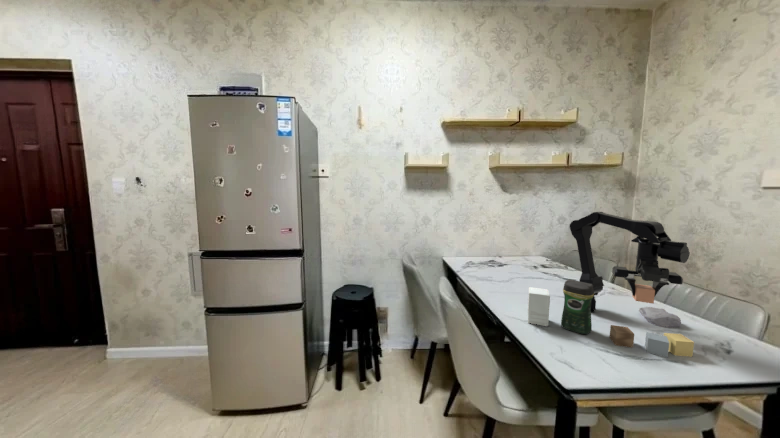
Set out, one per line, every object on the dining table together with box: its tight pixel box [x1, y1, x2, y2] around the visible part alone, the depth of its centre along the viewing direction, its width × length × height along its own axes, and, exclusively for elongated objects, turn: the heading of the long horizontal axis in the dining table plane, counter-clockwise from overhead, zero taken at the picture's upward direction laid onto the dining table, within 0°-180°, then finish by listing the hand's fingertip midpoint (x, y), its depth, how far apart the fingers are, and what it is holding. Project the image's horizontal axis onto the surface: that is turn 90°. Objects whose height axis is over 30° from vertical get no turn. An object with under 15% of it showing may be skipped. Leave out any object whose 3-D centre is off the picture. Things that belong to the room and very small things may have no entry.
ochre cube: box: [663, 332, 695, 358], centre depth 94 cm, size 5×5×5 cm
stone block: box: [638, 306, 682, 328], centre depth 116 cm, size 12×5×10 cm
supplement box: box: [526, 286, 551, 327], centre depth 115 cm, size 7×7×13 cm
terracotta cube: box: [631, 283, 656, 304], centre depth 107 cm, size 5×5×5 cm
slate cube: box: [644, 331, 669, 358], centre depth 95 cm, size 5×5×5 cm
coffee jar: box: [560, 279, 595, 335], centre depth 108 cm, size 10×8×19 cm
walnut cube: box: [609, 324, 635, 349], centre depth 100 cm, size 5×5×5 cm
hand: (642, 297), depth 107 cm, fingers closed on terracotta cube, 5 cm apart
